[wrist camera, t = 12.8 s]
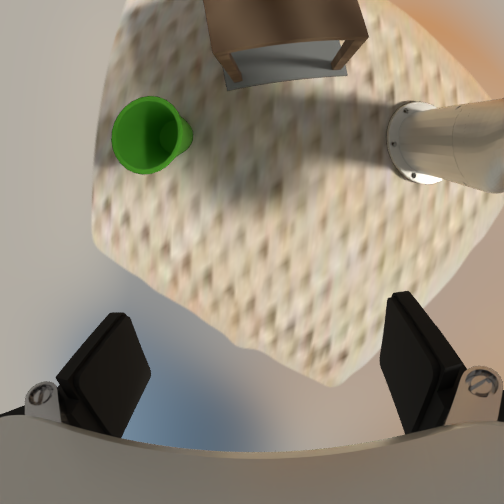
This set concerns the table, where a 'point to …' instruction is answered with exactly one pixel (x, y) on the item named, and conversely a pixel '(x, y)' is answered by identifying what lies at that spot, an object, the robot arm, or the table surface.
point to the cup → (149, 135)
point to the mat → (285, 63)
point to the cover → (282, 27)
